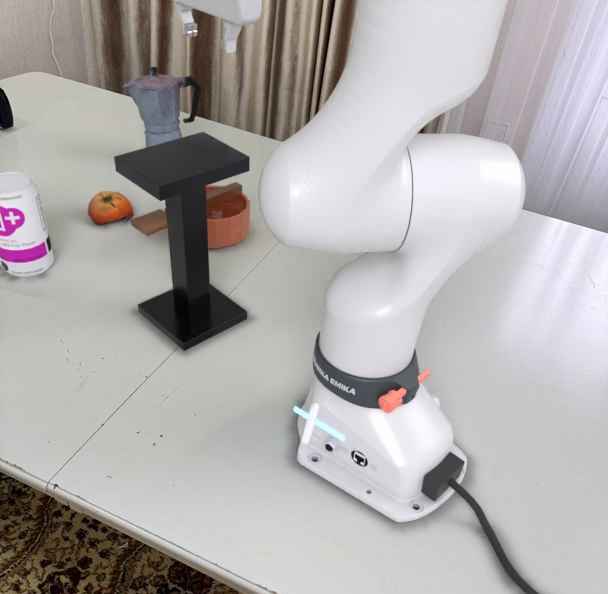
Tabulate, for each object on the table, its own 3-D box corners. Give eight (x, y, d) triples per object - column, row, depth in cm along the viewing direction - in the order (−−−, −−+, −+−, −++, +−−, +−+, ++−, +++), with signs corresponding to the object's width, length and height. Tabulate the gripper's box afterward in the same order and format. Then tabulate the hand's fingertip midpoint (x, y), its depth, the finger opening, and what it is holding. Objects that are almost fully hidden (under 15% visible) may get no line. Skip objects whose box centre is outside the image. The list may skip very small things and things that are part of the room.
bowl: (263, 234, 116) (264, 205, 112) (207, 258, 109) (205, 228, 105) (220, 207, 123) (219, 178, 119) (163, 227, 116) (161, 198, 112)
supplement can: (39, 282, 100) (17, 198, 91) (-8, 274, 101) (-35, 189, 91) (64, 256, 107) (46, 174, 97) (19, 248, 107) (-3, 166, 98)
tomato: (74, 213, 114) (91, 177, 114) (94, 222, 121) (110, 188, 121) (109, 231, 113) (126, 195, 112) (127, 239, 120) (144, 205, 119)
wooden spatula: (247, 196, 114) (247, 187, 113) (146, 236, 102) (145, 226, 101) (231, 188, 117) (231, 179, 115) (131, 225, 104) (130, 216, 103)
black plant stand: (252, 316, 98) (254, 159, 81) (178, 354, 90) (163, 189, 73) (205, 281, 104) (198, 128, 87) (132, 314, 96) (109, 153, 79)
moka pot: (130, 155, 138) (118, 60, 124) (199, 150, 142) (195, 58, 128) (135, 174, 131) (123, 76, 118) (207, 169, 135) (204, 73, 122)
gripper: (143, -76, 89) (152, 29, 98) (233, -51, 78) (234, 64, 88) (179, -78, 92) (185, 24, 102) (271, -54, 82) (268, 57, 91)
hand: (208, 43), depth 94 cm, fingers open, 8 cm apart
